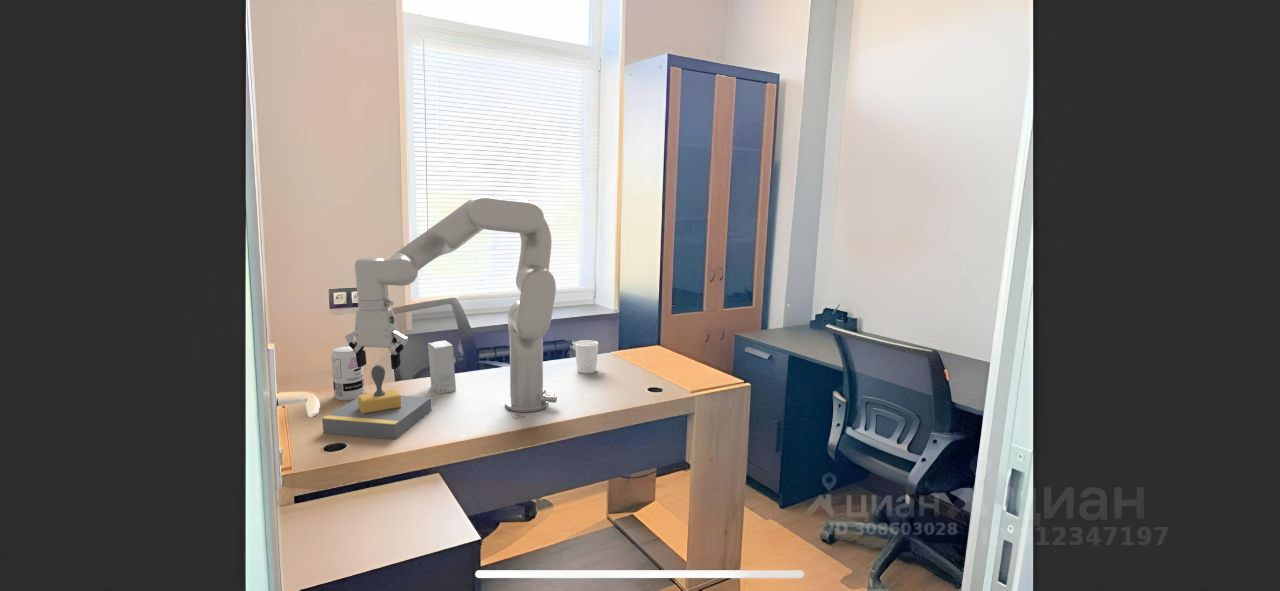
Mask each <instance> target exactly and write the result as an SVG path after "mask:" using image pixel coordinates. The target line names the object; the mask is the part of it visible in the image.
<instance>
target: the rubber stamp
mask: <svg viewBox="0 0 1280 591" xmlns="http://www.w3.org/2000/svg"><path fill="white" fill-rule="evenodd" d="M370 374H371V375H370V376H371V378H372V380H373V383H374V384H375V387H376V391H375V392H366V393H367V394H361V395H358V406H359V410H360V411H361V413H362V414H367V413H373V412H378V411H384V410H390V409H395V408H400V407H401V396H402V394H400V392H399V391H398V390H397V389H396V388H395V389H387V390H383V389H382V385H383V382H384V380H385V375H386V370H385V368H384V366H382V365H381V364H380V365H379V364H376V365H374V366H373V367H372V369H371V372H370Z"/></svg>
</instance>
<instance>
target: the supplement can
mask: <svg viewBox="0 0 1280 591" xmlns="http://www.w3.org/2000/svg"><path fill="white" fill-rule="evenodd" d="M330 356H331V357H330V358H331V366H332V367H331V369H332V381H333V382H332V384H333V395H334V398H336V399H337V400H338V401H342V400H346V402H348V401H347V400H349V401H353V400H354V399H356V398H358V395H361V394H364V393H365V385H364V384H365V381H364V380H365V379H364V366H362V367H360V368H359V367H358V366H357V361H356V353H354V352H353V349H352V348H351V347H350V346H349V345H342V346H336V347H335V348H333V351H332V352H331V354H330Z"/></svg>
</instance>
